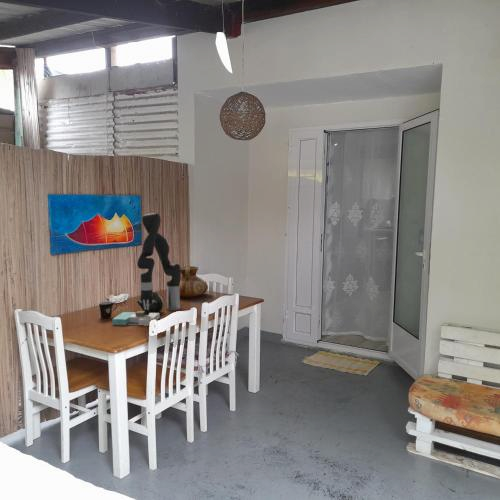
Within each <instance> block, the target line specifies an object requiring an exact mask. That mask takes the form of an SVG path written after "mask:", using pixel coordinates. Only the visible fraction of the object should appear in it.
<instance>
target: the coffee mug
mask: <svg viewBox="0 0 500 500" xmlns="http://www.w3.org/2000/svg"><path fill="white" fill-rule="evenodd" d="M113 305H115V308H114V309H113ZM98 306H99V312H100V313H99V314H100V318H101V319H102V320H103V319H111V318H112V314H113V312H114V311H115V310H116V309H117V308H118V304H117V303H116V302H115V303H114V302H113V301H110V300H109V301H100V302H99V303H98Z"/></svg>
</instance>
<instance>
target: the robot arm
mask: <svg viewBox="0 0 500 500" xmlns="http://www.w3.org/2000/svg"><path fill="white" fill-rule="evenodd" d="M141 220H142V224H143V228H144V229H145V230H146V232H147V233H148V235H147V236H146V237H145V238H144V240H143V243H142V251H141V253H140V255H139V258H138V260H137V263H136V265H137V267H138V269H140V270H147V271H145V272H144V271H143V272H141V273H140V287H139V288H140V298H139V300H137V301H136V303H137V305H139V307H140V308H141V309H142V310H143V309H144V310H145V314H146V315H149V314H150V309H151V308H152V307H153V306H154V305H155V304H156V302H157V301H155V300H154V298H153V293H154V292H153V288H154V287H153V271H154V268H155V263H156V262H155V260H154V258H152V257H151V256H153V255H154V249H155V251H156V253H157V256H158V258H159V261H160V263H161V267H162V270H163V273H164V274H165V275H166V276H169V277H171V280H168V281H167V282H166V309H167V310H169V311H177V310H180V308H181V298H180V280H181V277H182V274H181V265H180V264H179V263H174V262H173V263H172V262H171V261H170V259H169V254H170V245H169V244H168V241H167V239H166V238H165V237H164V236H163V235H161V234H160V233H159V229H160V225H161V221H162V220H161V216H160V214H159V213H158V212H152V213H145V214H143V215H142V218H141ZM152 301H153V302H152ZM151 302H152V303H153V304H152V305H151V306H150V304H151ZM142 303H143V304H144V305H143V304H142Z"/></svg>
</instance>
